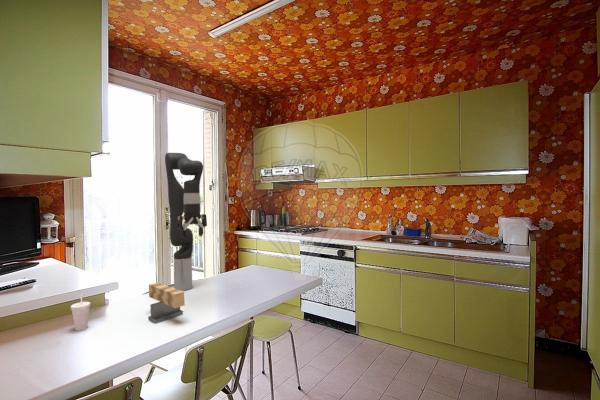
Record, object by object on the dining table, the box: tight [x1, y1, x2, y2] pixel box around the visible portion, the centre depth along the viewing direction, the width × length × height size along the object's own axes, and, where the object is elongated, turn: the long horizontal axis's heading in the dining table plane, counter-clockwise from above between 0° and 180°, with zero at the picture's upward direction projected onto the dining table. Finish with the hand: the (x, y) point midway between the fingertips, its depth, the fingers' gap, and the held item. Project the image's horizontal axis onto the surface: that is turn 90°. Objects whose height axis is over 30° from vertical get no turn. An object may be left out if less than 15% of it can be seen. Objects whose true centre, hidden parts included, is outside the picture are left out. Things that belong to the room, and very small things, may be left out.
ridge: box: [147, 301, 184, 325], centre depth 130 cm, size 6×12×7 cm, turn 142°
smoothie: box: [70, 293, 91, 332], centre depth 120 cm, size 6×6×14 cm
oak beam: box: [148, 282, 185, 308], centre depth 130 cm, size 22×4×6 cm, turn 51°
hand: (192, 237), depth 145 cm, fingers open, 8 cm apart
